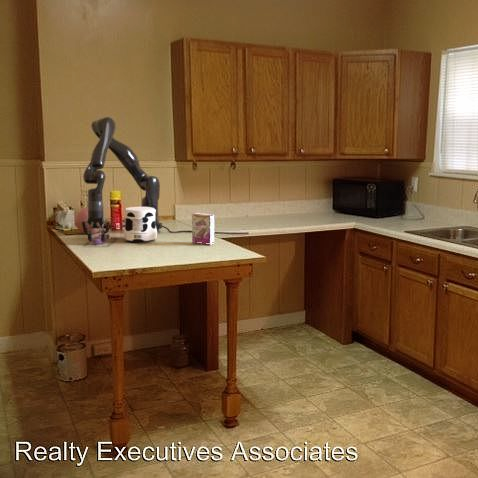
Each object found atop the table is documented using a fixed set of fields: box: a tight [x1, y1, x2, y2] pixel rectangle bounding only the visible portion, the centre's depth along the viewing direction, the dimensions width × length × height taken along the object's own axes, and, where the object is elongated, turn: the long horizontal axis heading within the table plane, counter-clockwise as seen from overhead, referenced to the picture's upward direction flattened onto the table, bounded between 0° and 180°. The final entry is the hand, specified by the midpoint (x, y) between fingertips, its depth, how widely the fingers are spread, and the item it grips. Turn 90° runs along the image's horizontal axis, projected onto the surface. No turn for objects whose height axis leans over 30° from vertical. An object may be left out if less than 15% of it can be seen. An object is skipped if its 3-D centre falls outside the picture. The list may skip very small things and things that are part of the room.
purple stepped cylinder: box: [90, 237, 102, 244], centre depth 314 cm, size 6×6×3 cm
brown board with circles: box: [90, 237, 112, 247], centre depth 322 cm, size 12×22×1 cm, turn 5°
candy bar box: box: [191, 212, 215, 246], centre depth 325 cm, size 11×5×16 cm, turn 71°
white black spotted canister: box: [123, 206, 158, 244], centre depth 326 cm, size 17×17×18 cm
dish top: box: [98, 232, 111, 239], centre depth 329 cm, size 6×6×3 cm
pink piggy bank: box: [74, 206, 106, 235], centre depth 340 cm, size 15×20×15 cm
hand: (96, 240), depth 315 cm, fingers closed on purple stepped cylinder, 5 cm apart
